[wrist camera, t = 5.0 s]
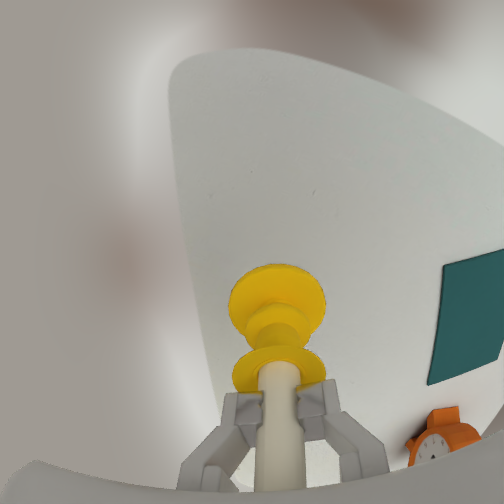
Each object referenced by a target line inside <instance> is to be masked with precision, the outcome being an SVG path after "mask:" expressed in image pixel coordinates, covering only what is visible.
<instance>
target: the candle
mask: <svg viewBox="0 0 504 504" xmlns="http://www.w3.org/2000/svg"><path fill="white" fill-rule="evenodd" d="M228 308H229V316H230V318H231V321H232V323H233V325H234V326H235V327H236V329H237V330H238V331H239V332H240V333H241V334H242V335H244V336H245V338H246V340H247V342H248V344H249V345H250V346H251V347H252V348H253V349H254V350H253V351H251V352H249V353H247V354H246V355H244V356H243V357H242V358H240V359H239V361H238V362H237V363H236V365H235V366H234V369H233V373H232V380H233V384H234V386H235V388H236V390H237V391H238V392H249V391H260V390H264V397H263V403H262V405H261V407H262V409H263V426H261V427H260V428H259V429H258V430H257V432H256V454H255V477H254V492H267V491H282V490H293V489H303V488H307V487H306V464H305V445H304V429H303V428H302V427H301V426H300V425H299V421H298V413H297V403H298V400H297V395H296V385H301V384H307V383H312V382H318V381H321V383H322V381H325V378H326V370H325V366H324V364H323V362H322V361H321V360H320V358H319V357H318V356H316V355H315V354H314V353H312V352H311V351H308V350H306V349H303V347H304V346H305V345H306V344H307V343H308V341H309V338H310V336H311V334H312V333H313V332H314V331H315V330H316V329H317V328H318V326H319V325H320V324H321V322H322V320H323V318H324V315H325V309H326V301H325V297H324V293H323V289H322V288H321V286H320V284H319V283H318V281H317V280H316V279H315V278H314V277H313V276H312V275H311V274H310V273H308V272H307V271H305V270H303V269H301V268H299V267H296V266H291V265H287V264H269V265H265V266H261V267H257V268H255V269H253V270H251V271H250V272H248V273H246V274H245V275H244V276H243V277H242V278H240V279H239V280H238V281H237V283H236V284H235V286H234V288H233V289H232V291H231V295H230V299H229V304H228Z"/></svg>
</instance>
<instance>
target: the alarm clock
mask: <svg viewBox="0 0 504 504" xmlns="http://www.w3.org/2000/svg"><path fill="white" fill-rule="evenodd" d="M479 440H482V439H481V437H480V435H479V434H478V432H477V431H476V429H475V428H473V427H472V426H471V425H469V424H466V423H460V417H459V408H458V407H451V408H444V409H437V410H433V411H432V412H431V413H430V415H429V416H428V417H427V430H426V431H425V432H423V433H422V434H421V435H420V436H419V437H418V438H412V439H410V440H409V441H408V442H407V443H406V445H405V446H406V447H407V448H408V450H409V451H410V452H411V453H410V457H409V463H408V467H410V466H413V465H416V464H420V463H423V462H426V461H429V460H432V459H434V458H437V457H440V456H443V455H445V454H448V453H451V452H453V451H456V450H458V449H461V448H463V447H466V446H468V445H470V444H473V443H475V442H477V441H479Z"/></svg>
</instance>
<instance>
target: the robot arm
mask: <svg viewBox="0 0 504 504" xmlns="http://www.w3.org/2000/svg"><path fill="white" fill-rule="evenodd" d="M296 395H297V400H298V403H297V413H298V421H299V425H300V426H301V427H302V428H303V429H304V442H307V441H315V440H322V439H325V440H326V441H327V442H328V443H329V445H330V446H331V447H332V448H333V449H334V450H335V451H336V452H337V453H338V454H339V456H340V457H339V466H340V483H338V484H332V485H326V486H319V487H311V488H303V489H293V490H282V491H267V492H241V493H240V492H239V489H238V488H237V487H236V486H235V484H234V483H233V482H232V481H231V480H230V477H231V475H232V474H233V473H234V471H235V470H236V469H237V467H238V466H239V464H240V463H241V462H242V460H243V459H244V457H245V456H246V454H247V453H248V452H249V450H250V448H252V447H256V432H257V430H258V429H259V428H260V427H261V426H263V409H262V407H261V405H262V403H263V397H264V390H260V391H249V392H236V393H226V395H225V398H224V404H223V411H222V418H221V425H220V426H217V427H216V428H215V429H214V430H213V431H212V432H211V433H210V434H209V435H208V436H207V438H206V439H205V440H204V441H203V442H202V443H201V444H200V445H199V446H198V447H197V448H196V449H195V450H194V451H193V452H192V453H191V454H190V455H189V457H188V458H187V459H186V460H185V461H184V462H183V463H182V464H181V469H180V474H179V478H178V483H177V488H176V490H171V489H163V488H154V487H147V486H140V485H134V484H128V483H122V482H117V481H112V480H107V479H103V478H98V477H94V476H90V475H86V474H82V473H78V472H74V471H71V470H67V469H64V468H60V467H57V466H53V465H51V464H48V463H45V462H41V461H37V460H35V461H32V462H30V463H28V464H27V465H26V466H24V467H22V468H21V469H19V470H18V471H16V472H15V473H14V474H13V475H12V476H11V477H10V479H9V480H8V482H7V483H6V485H5V487H4V489H3V491H2V493H1V495H0V504H504V429H502V430H500V431H498V432H496V433H494V434H492V435H490V436H488V437H486V438H484V439H482V440H479V441H477V442H475V443H473V444H470V445H468V446H466V447H463V448H461V449H458V450H456V451H453V452H451V453H448V454H445V455H443V456H440V457H437V458H434V459H432V460H429V461H426V462H423V463H420V464H416V465H413V466H410V467H407V468H403V469H400V470H396V471H393V472H390V470H389V465H388V461H387V456H386V452H385V448H384V444H383V443H382V442H381V441H379V440H378V439H377V438H376V437H375V436H373V435H372V434H371V433H370V432H369V431H367V430H366V429H365V428H364V427H363V426H362V425H360V424H359V423H358V422H357V421H356V420H354V419H353V418H352V417H351V416H350V415H349V414H348V413H346V412H345V411H343V412H341V409H340V403H339V398H338V392H337V387H336V382H335V379H330V380H325V381H322V383H321V381H318V382H312V383H307V384H301V385H296Z"/></svg>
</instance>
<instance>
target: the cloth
mask: <svg viewBox="0 0 504 504" xmlns="http://www.w3.org/2000/svg"><path fill="white" fill-rule="evenodd" d="M503 341H504V249H502V250H499V251H495V252H492V253H488V254H485V255H481V256H477V257H474V258H470V259H466V260H462V261H459V262H455V263H451V264H447V265H444V267H443V281H442V293H441V302H440V311H439V319H438V326H437V333H436V339H435V345H434V351H433V357H432V362H431V367H430V372H429V377H428V381H427V385H428V386H429V385H432V384H435V383H438V382H441V381H444V380H447V379H450V378H453V377H455V376H458V375H461V374H463V373H466V372H468V371H471V370H474V369H476V368H479V367H481V366H483V365H486V364H488V363H490V362H493V361H495V360H497V359H498V356H499V353H500V350H501V347H502V344H503Z"/></svg>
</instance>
